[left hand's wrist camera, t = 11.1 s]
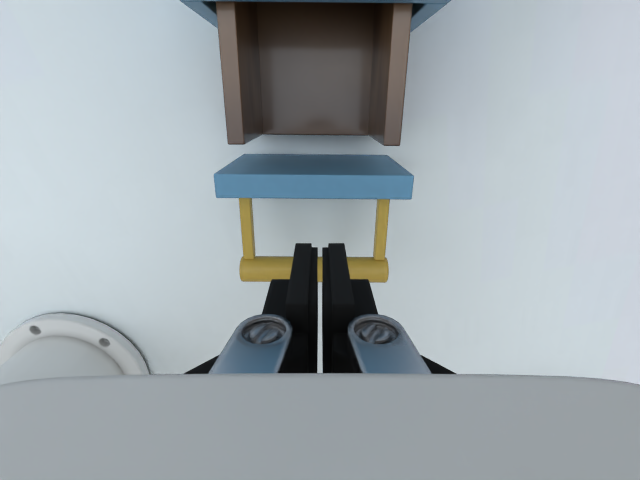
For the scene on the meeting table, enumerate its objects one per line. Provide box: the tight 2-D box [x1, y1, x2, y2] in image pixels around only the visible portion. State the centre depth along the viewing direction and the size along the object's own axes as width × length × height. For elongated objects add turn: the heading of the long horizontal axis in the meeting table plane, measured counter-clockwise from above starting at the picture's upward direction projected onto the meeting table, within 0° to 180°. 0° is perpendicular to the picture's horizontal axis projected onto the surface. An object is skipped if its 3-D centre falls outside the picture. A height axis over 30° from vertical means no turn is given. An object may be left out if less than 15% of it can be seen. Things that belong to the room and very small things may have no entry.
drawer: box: [214, 1, 414, 283], centre depth 18 cm, size 24×10×7 cm, turn 0°
